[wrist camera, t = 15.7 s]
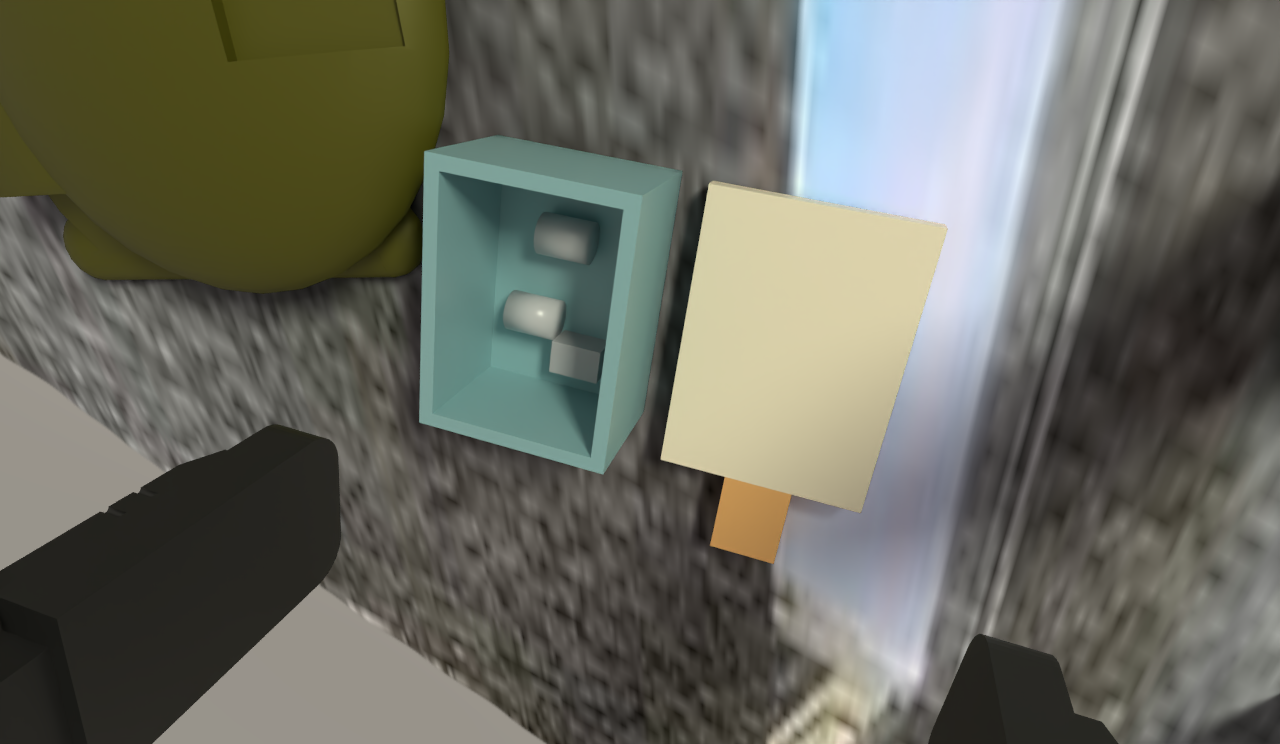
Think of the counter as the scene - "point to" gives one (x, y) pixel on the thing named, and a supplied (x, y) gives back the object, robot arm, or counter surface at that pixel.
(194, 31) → the spaceship
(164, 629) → the robot arm
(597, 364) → the tub
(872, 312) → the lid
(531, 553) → the counter surface
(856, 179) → the counter surface
